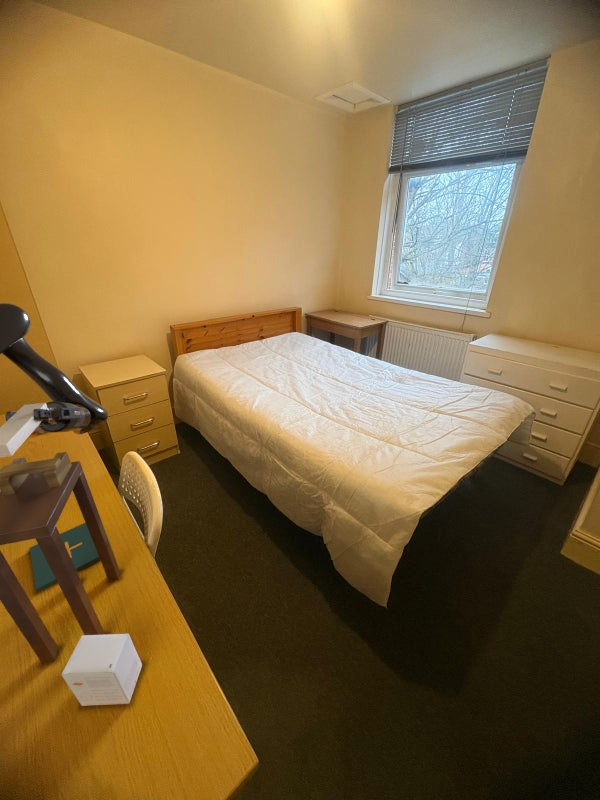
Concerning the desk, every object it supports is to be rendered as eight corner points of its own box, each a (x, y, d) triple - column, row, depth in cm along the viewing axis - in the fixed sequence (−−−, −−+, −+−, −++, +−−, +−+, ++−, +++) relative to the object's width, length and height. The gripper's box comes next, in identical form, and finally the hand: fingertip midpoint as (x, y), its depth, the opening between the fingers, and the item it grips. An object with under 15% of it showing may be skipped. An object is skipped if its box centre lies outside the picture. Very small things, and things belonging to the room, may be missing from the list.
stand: (42, 664, 58) (-52, 522, 42) (71, 583, 72) (8, 452, 56) (103, 646, 61) (36, 506, 45) (120, 571, 74) (73, 444, 58)
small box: (143, 665, 58) (130, 632, 53) (129, 705, 53) (113, 672, 48) (98, 666, 58) (81, 633, 53) (80, 707, 53) (59, 674, 48)
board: (37, 592, 70) (35, 589, 69) (31, 550, 79) (29, 547, 79) (108, 555, 78) (107, 552, 78) (94, 521, 88) (93, 518, 87)
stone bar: (-16, 459, 55) (-22, 447, 54) (28, 414, 70) (24, 404, 69) (11, 456, 56) (6, 444, 55) (49, 412, 71) (45, 402, 70)
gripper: (27, 406, 79) (-23, 401, 63) (92, 399, 83) (61, 393, 66) (30, 436, 79) (-19, 439, 62) (95, 428, 83) (64, 429, 66)
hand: (22, 415), depth 64 cm, fingers closed on stone bar, 4 cm apart
